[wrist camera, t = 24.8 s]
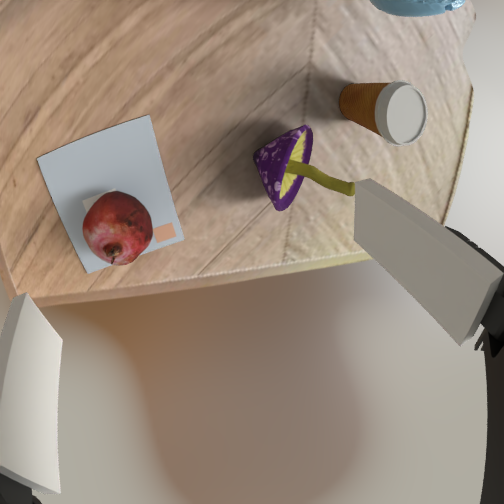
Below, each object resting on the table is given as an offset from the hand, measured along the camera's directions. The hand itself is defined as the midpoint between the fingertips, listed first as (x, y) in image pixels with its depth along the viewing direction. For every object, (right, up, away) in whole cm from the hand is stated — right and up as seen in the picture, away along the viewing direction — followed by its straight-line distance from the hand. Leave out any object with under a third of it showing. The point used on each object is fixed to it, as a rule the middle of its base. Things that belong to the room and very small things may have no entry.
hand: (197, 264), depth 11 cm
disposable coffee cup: (+18, +24, +33) cm, 45 cm away
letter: (-17, +7, +28) cm, 33 cm away
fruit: (-17, +5, +29) cm, 34 cm away
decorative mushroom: (+16, +8, +27) cm, 33 cm away
